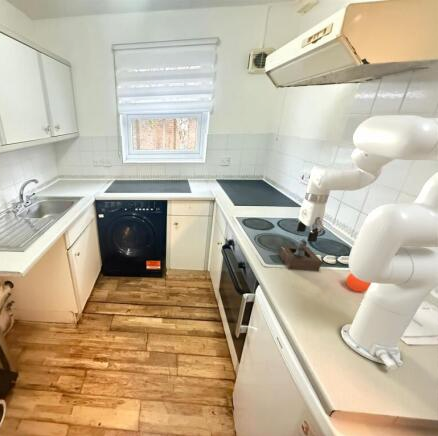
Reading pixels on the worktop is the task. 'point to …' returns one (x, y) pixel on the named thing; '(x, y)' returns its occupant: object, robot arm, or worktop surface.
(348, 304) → the worktop surface
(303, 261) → the socket
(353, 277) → the clementine
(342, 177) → the robot arm
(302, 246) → the grey tiered tall piece
